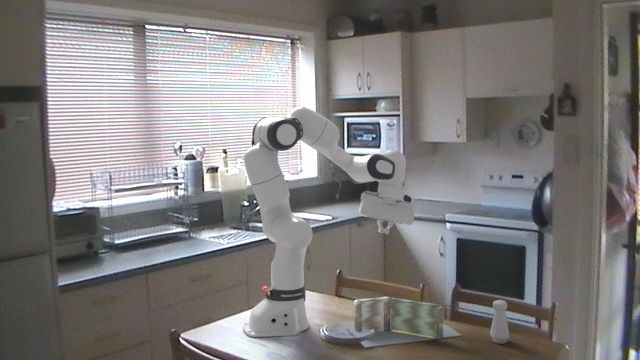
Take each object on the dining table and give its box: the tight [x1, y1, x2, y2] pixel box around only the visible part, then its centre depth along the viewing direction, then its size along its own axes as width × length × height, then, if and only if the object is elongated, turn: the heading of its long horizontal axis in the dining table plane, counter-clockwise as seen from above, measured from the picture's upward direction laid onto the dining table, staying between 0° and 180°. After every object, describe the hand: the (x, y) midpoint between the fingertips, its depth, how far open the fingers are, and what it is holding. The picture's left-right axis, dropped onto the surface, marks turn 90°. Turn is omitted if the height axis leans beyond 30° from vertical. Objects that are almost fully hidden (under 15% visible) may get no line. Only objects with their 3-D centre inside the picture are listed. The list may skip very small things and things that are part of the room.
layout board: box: [359, 323, 462, 349], centre depth 202 cm, size 33×18×1 cm, turn 106°
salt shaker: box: [489, 299, 510, 345], centre depth 192 cm, size 6×6×13 cm
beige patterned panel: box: [353, 296, 391, 332], centre depth 202 cm, size 12×3×11 cm, turn 106°
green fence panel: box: [390, 297, 445, 340], centre depth 198 cm, size 18×2×10 cm, turn 59°
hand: (383, 233), depth 219 cm, fingers closed
